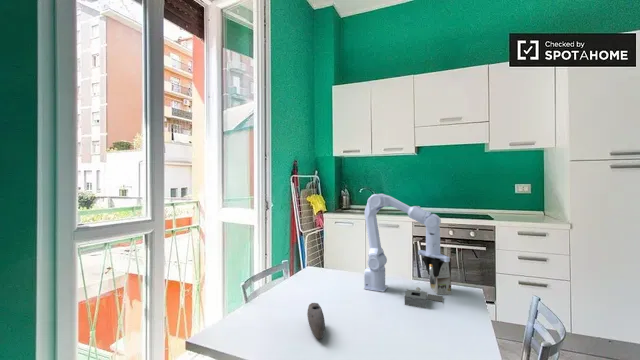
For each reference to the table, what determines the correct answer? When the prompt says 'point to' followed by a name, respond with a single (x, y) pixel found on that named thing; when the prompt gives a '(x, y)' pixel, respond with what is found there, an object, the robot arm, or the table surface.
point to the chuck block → (416, 298)
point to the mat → (435, 298)
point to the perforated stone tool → (316, 320)
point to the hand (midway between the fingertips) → (433, 275)
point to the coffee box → (443, 279)
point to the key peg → (432, 274)
